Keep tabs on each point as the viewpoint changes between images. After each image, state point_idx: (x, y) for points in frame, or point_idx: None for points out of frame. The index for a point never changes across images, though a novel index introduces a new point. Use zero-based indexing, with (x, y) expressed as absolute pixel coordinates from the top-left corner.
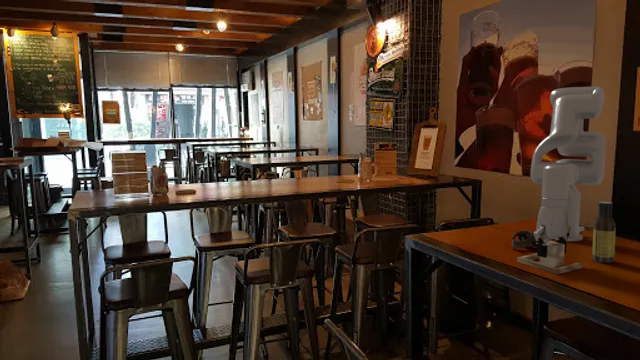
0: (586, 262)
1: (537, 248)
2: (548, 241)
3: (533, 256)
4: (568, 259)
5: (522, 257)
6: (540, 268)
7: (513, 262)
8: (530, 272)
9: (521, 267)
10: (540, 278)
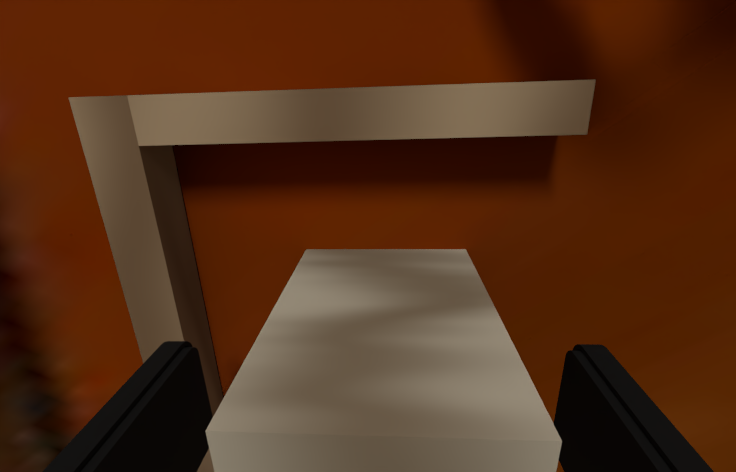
0: (715, 426)
1: (99, 414)
2: (470, 444)
3: (342, 139)
4: (690, 305)
5: (137, 134)
6: None
7: (63, 93)
8: (44, 363)
9: (47, 249)
10: (36, 459)
